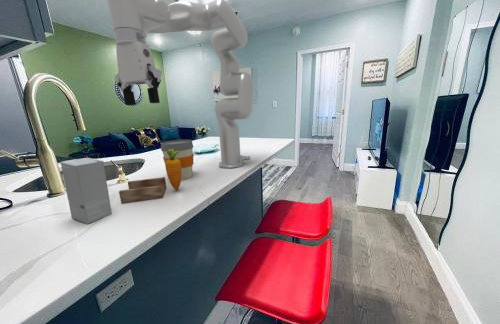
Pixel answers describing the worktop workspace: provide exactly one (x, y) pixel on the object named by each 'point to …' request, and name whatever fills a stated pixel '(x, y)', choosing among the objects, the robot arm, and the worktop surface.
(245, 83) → the robot arm
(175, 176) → the carrot
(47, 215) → the worktop surface
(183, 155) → the reusable coffee cup
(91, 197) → the skincare box
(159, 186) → the walnut U-rest
